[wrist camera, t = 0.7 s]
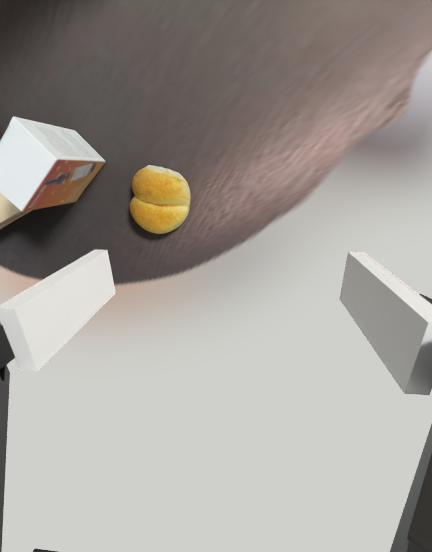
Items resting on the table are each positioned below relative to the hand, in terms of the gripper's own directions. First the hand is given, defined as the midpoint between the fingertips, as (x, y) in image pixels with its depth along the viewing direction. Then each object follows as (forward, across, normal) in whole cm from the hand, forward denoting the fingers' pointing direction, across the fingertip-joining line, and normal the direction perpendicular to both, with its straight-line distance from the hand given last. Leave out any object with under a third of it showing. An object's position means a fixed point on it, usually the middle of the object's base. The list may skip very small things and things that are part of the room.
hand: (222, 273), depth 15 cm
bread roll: (+25, -11, +1) cm, 27 cm away
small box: (+25, -23, +6) cm, 34 cm away
